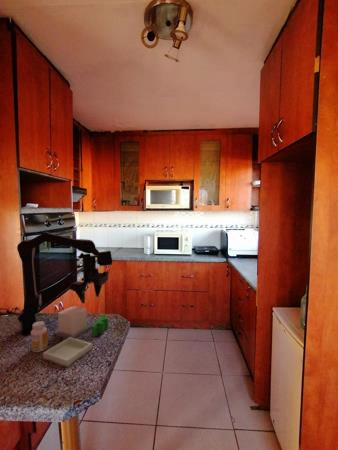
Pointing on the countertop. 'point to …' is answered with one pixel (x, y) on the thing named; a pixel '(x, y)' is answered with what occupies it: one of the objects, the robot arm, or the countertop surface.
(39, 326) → the supplement bottle
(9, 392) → the countertop surface
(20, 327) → the robot arm
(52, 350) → the tray
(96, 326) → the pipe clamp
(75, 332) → the plain beige box
